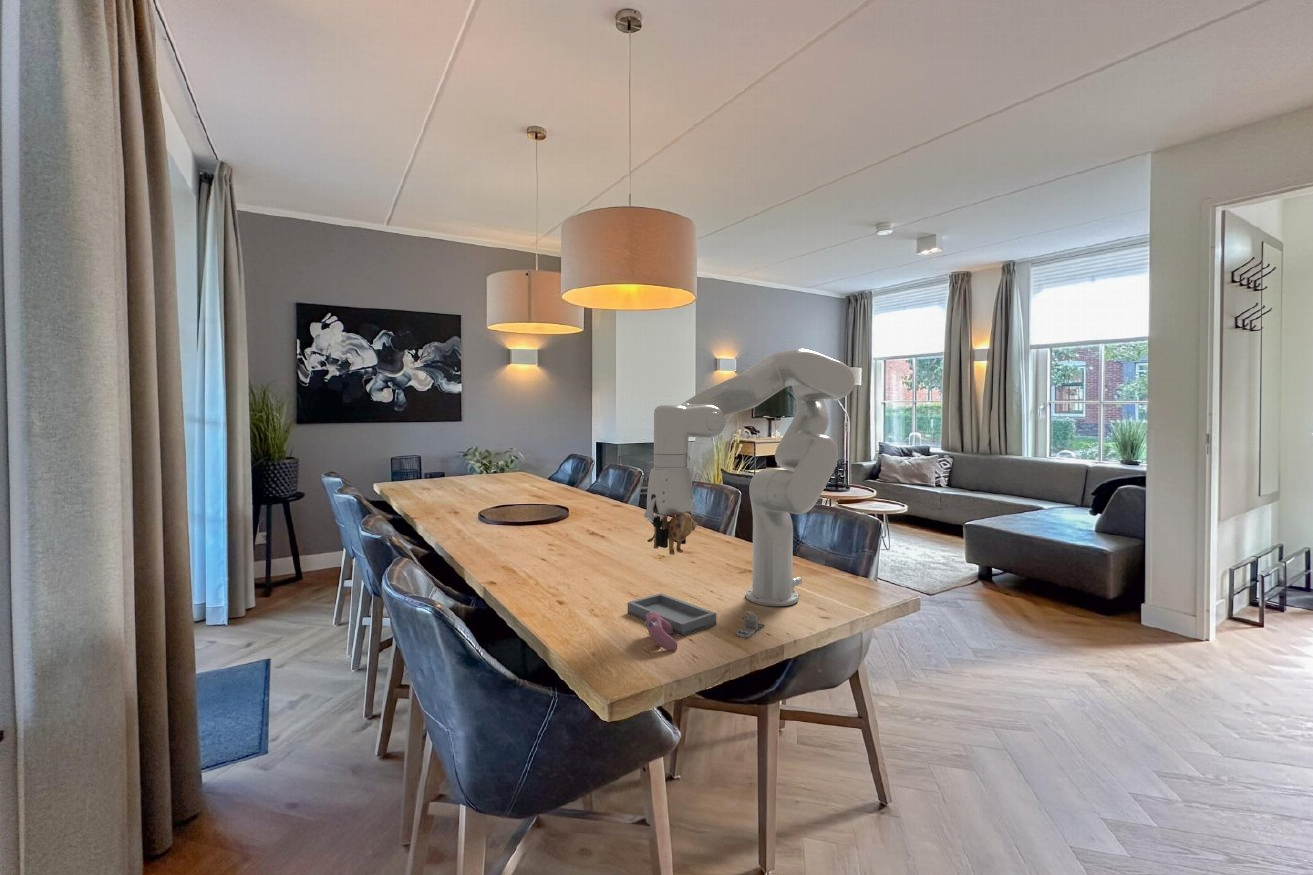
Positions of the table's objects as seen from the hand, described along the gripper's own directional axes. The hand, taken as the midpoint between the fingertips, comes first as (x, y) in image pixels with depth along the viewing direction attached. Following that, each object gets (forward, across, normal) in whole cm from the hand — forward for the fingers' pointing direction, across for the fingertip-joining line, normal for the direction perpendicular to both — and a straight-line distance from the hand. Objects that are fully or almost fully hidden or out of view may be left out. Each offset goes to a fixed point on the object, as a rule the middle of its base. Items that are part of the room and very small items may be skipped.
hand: (670, 544), depth 129 cm
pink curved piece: (+17, +10, +8) cm, 21 cm away
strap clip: (+17, -8, +16) cm, 25 cm away
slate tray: (+17, 0, 0) cm, 17 cm away
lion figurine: (+2, 0, -1) cm, 2 cm away
